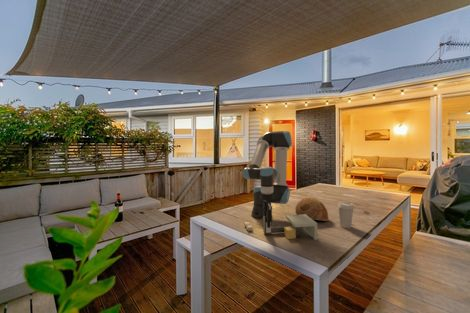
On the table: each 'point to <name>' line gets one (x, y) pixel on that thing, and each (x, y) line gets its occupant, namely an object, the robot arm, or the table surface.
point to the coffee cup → (345, 214)
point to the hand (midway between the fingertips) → (267, 230)
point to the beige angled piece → (304, 224)
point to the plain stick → (248, 226)
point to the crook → (276, 228)
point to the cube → (289, 232)
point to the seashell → (312, 209)
